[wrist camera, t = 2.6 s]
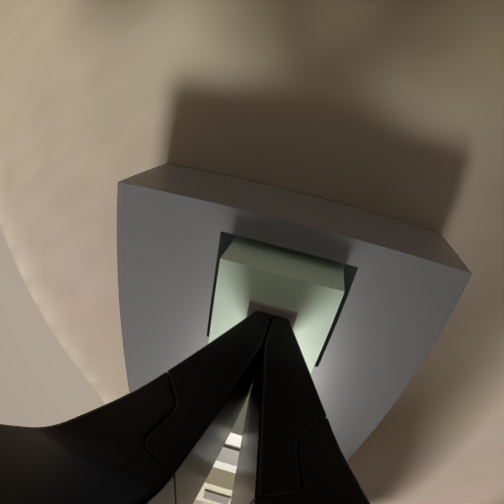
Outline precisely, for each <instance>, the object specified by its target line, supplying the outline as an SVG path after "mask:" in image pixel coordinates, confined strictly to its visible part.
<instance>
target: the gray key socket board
mask: <svg viewBox="0 0 504 504" xmlns="http://www.w3.org/2000/svg"><path fill="white" fill-rule="evenodd" d="M237 235H238V236H242V237H245V238H249V239H253V240H257V241H261V242H265V243H269V244H272V245H276V246H280V247H284V248H288V249H292V250H295V251H299V252H303V253H307V254H311V255H314V256H318V257H322V258H326V259H329V260H333V261H337V262H341V263H343V272H344V289H345V292H344V295H343V297H342V300H341V302H340V305H339V308H338V310H337V313H336V315H335V318H334V320H333V323H332V325H331V328H330V330H329V333H328V335H327V337H326V340H325V342H324V345H323V347H322V349H321V352H320V354H319V356H318V359H317V361H316V363H315V365H314V368H313V370H312V372H311V377H312V379H313V382H314V385H315V387H316V390H317V392H318V395H319V397H320V400H321V402H322V405H323V408H324V410H325V413H326V415H327V417H326V418H328V420H329V423H330V425H331V428H332V430H333V433H334V435H335V438H336V440H337V442H338V445H339V447H340V449H341V451H342V453H343V455H344V457H345V459H346V461H347V460H348V459H349V458H350V457H351V456H352V455H353V454H354V453H355V451H356V450H357V449H358V448H359V447H360V446H361V445H362V443H363V442H364V441H365V440H366V439H367V438H368V436H369V435H370V434H371V433H372V431H373V430H374V429H375V428H376V427H377V425H378V424H379V423H380V422H381V420H382V419H383V418H384V416H385V415H386V414H387V413H388V411H389V410H390V409H391V407H392V406H393V405H394V403H395V402H396V401H397V399H398V398H399V397H400V395H401V394H402V392H403V391H404V390H405V388H406V387H407V385H408V384H409V382H410V381H411V379H412V378H413V377H414V375H415V374H416V372H417V371H418V369H419V367H420V366H421V364H422V363H423V361H424V360H425V358H426V357H427V355H428V353H429V352H430V350H431V349H432V347H433V345H434V344H435V342H436V340H437V339H438V337H439V335H440V333H441V332H442V330H443V328H444V326H445V325H446V323H447V321H448V319H449V317H450V316H451V314H452V312H453V310H454V308H455V306H456V304H457V302H458V300H459V298H460V296H461V294H462V292H463V290H464V288H465V286H466V284H467V282H468V280H469V278H470V276H471V272H470V271H469V270H468V268H467V267H466V266H465V264H464V263H463V262H462V260H461V259H460V258H459V256H458V255H457V254H456V253H455V251H454V250H453V249H452V247H451V246H450V245H449V244H448V242H447V241H446V240H445V239H444V238H443V236H442V235H441V234H440V233H437V232H434V231H431V230H428V229H424V228H421V227H418V226H415V225H412V224H409V223H406V222H402V221H399V220H396V219H393V218H389V217H386V216H383V215H379V214H376V213H373V212H369V211H366V210H362V209H359V208H355V207H352V206H348V205H345V204H341V203H337V202H334V201H330V200H326V199H322V198H319V197H315V196H311V195H307V194H303V193H299V192H295V191H291V190H287V189H283V188H279V187H275V186H271V185H266V184H262V183H258V182H253V181H249V180H245V179H240V178H235V177H231V176H226V175H221V174H217V173H212V172H207V171H202V170H197V169H192V168H187V167H182V166H176V165H171V164H164V165H161V166H158V167H155V168H153V169H150V170H147V171H145V172H142V173H139V174H137V175H134V176H132V177H129V178H127V179H124V180H122V181H119V182H118V197H117V261H118V286H119V302H120V316H121V327H122V337H123V347H124V355H125V364H126V371H127V378H128V385H129V392H130V393H131V392H133V391H135V390H137V389H139V388H140V387H142V386H144V385H145V384H147V383H149V382H150V381H152V380H154V379H155V378H157V377H158V376H160V375H162V374H163V373H165V372H167V371H168V370H170V369H171V368H173V367H174V366H176V365H177V364H179V363H180V362H182V361H183V360H185V359H186V358H188V357H189V356H191V355H192V354H194V353H195V352H197V351H198V350H200V349H201V348H203V347H204V346H206V345H207V344H208V342H209V334H210V327H211V319H212V312H213V305H214V297H215V290H216V283H217V276H218V270H219V263H220V258H221V257H222V255H223V254H224V252H225V251H226V250H227V248H228V247H229V246H230V244H231V243H232V242H233V240H234V239H235V237H236V236H237Z"/></svg>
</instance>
